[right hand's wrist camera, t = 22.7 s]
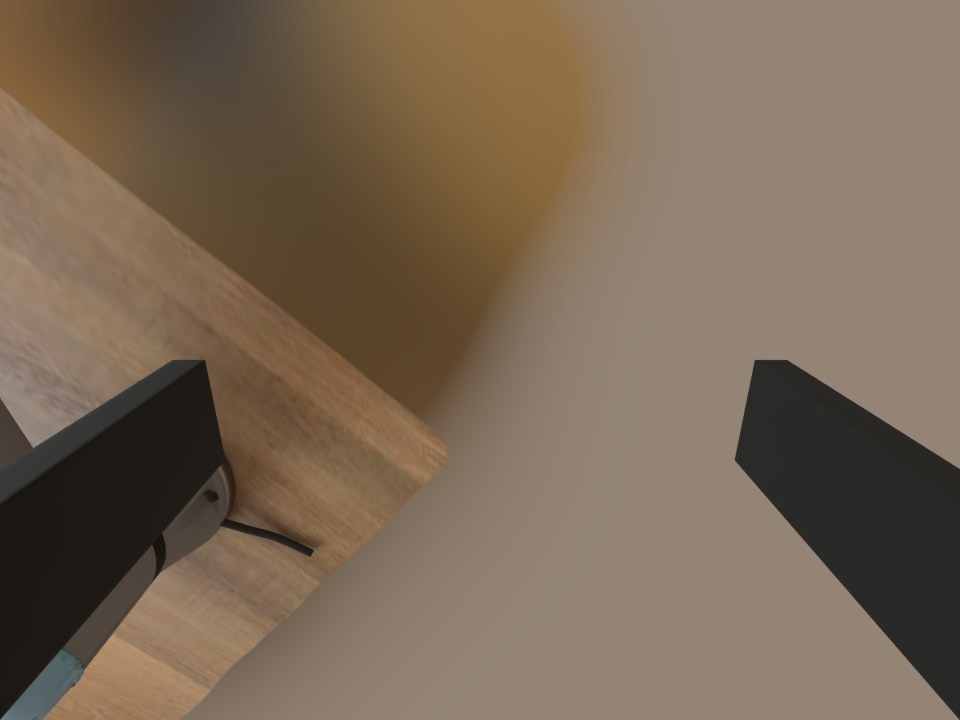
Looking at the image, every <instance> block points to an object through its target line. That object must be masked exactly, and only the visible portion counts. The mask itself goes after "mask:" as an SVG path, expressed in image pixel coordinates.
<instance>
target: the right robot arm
mask: <svg viewBox="0 0 960 720" xmlns="http://www.w3.org/2000/svg"><path fill="white" fill-rule="evenodd" d="M735 461H736V462H737V463H738V465H739V466H740V467H741V468H742V469H743V470H744V471H745V473H746V474H747V475H748V476H749V477H750V478H751V479H752V481H753V482H754V483H755V484H756V485H757V486H758V488H759V489H760V490H761V491H762V492H763V493H764V495H765V496H766V497H767V498H768V499H769V500H770V501H771V503H772V504H773V505H774V506H775V507H776V508H777V510H778V511H779V512H780V513H781V514H782V515H783V516H784V518H785V519H786V520H787V521H788V522H789V523H790V525H791V526H792V527H793V528H794V529H795V530H796V531H797V533H798V534H799V535H800V536H801V537H802V538H803V540H804V541H805V542H806V543H807V544H808V545H809V546H810V548H811V549H812V550H813V551H814V552H815V553H816V555H817V556H818V557H819V558H820V559H821V560H822V561H823V563H824V564H825V565H826V566H827V567H828V568H829V570H830V571H831V572H832V573H833V574H834V575H835V576H836V578H837V579H838V580H839V581H840V582H841V583H842V585H843V586H844V587H845V588H846V589H847V590H848V591H849V593H850V594H851V595H852V596H853V597H854V598H855V600H856V601H857V602H858V603H859V604H860V605H861V606H862V608H863V609H864V610H865V611H866V612H867V613H868V615H869V616H870V617H871V618H872V619H873V620H874V621H875V623H876V624H877V625H878V626H879V627H880V628H881V630H882V631H883V632H884V633H885V634H886V635H887V636H888V638H889V639H890V640H891V641H892V642H893V643H894V645H895V646H896V647H897V648H898V649H899V650H900V651H901V653H902V654H903V655H904V656H905V657H906V658H907V660H908V661H909V662H910V663H911V664H912V665H913V667H914V668H915V669H916V670H917V671H918V672H919V673H920V675H921V676H922V677H923V678H924V679H925V680H926V682H927V683H928V684H929V685H930V686H931V687H932V688H933V690H934V691H935V692H936V693H937V694H938V695H939V697H940V698H941V699H942V700H943V701H944V702H945V703H946V705H947V706H948V707H949V708H950V709H951V710H952V712H953V713H954V714H955V715H956V716H957V717H958V718H959V720H960V469H959V468H957V467H956V466H954V465H952V464H951V463H949V462H948V461H946V460H944V459H943V458H941V457H940V456H938V455H937V454H935V453H933V452H932V451H930V450H929V449H927V448H925V447H924V446H922V445H921V444H919V443H918V442H916V441H914V440H913V439H911V438H910V437H908V436H907V435H905V434H903V433H902V432H900V431H899V430H897V429H895V428H894V427H892V426H891V425H889V424H887V423H886V422H884V421H883V420H881V419H880V418H878V417H876V416H875V415H873V414H872V413H870V412H869V411H867V410H865V409H864V408H862V407H861V406H859V405H857V404H856V403H854V402H853V401H851V400H850V399H848V398H846V397H845V396H843V395H841V394H840V393H838V392H837V391H835V390H834V389H832V388H830V387H829V386H827V385H826V384H824V383H823V382H821V381H819V380H818V379H816V378H815V377H813V376H811V375H810V374H808V373H807V372H805V371H804V370H802V369H800V368H799V367H797V366H796V365H794V364H792V363H791V362H789V361H788V360H755V362H754V367H753V372H752V377H751V382H750V387H749V392H748V397H747V402H746V407H745V412H744V417H743V422H742V427H741V432H740V437H739V442H738V447H737V452H736V457H735ZM234 495H235V486H234V479H233V475H232V472H231V469H230V467H229V465H228V462H227V460H226V459H225V457H224V452H223V447H222V442H221V437H220V432H219V427H218V422H217V417H216V412H215V407H214V402H213V397H212V392H211V387H210V382H209V377H208V372H207V367H206V362H205V360H172V361H171V362H169V363H168V364H166V365H164V366H163V367H161V368H160V369H158V370H156V371H155V372H153V373H152V374H150V375H149V376H147V377H145V378H144V379H142V380H141V381H139V382H137V383H136V384H134V385H133V386H131V387H130V388H128V389H126V390H125V391H123V392H122V393H120V394H118V395H117V396H115V397H114V398H112V399H110V400H109V401H107V402H106V403H104V404H103V405H101V406H99V407H98V408H96V409H95V410H93V411H91V412H90V413H88V414H87V415H85V416H84V417H82V418H80V419H79V420H77V421H76V422H74V423H72V424H71V425H69V426H68V427H66V428H65V429H63V430H61V431H60V432H58V433H57V434H55V435H53V436H52V437H50V438H49V439H47V440H46V441H44V442H42V443H41V444H39V445H38V446H36V447H34V448H33V447H32V446H31V444H30V443H29V441H28V440H27V438H26V437H25V435H24V434H23V432H22V431H21V429H20V428H19V426H18V424H17V423H16V421H15V420H14V418H13V417H12V415H11V414H10V412H9V411H8V409H7V408H6V406H5V405H4V403H3V402H2V400H1V399H0V720H42V719H43V718H44V717H45V716H46V715H47V714H48V712H49V711H50V710H51V709H52V708H53V707H54V706H55V705H56V704H57V702H58V701H59V700H60V699H61V698H62V697H63V696H64V695H65V694H66V692H67V691H68V690H69V689H70V688H72V687H73V686H74V685H75V684H76V683H77V682H79V680H80V679H81V676H82V674H83V673H84V670H85V668H86V667H87V666H88V665H89V663H90V662H91V661H92V659H93V658H94V657H95V656H96V654H97V653H98V652H99V650H100V649H101V648H102V647H103V645H104V644H105V643H106V641H107V640H108V639H109V638H110V636H111V635H112V634H113V632H114V631H115V630H116V629H117V627H118V626H119V625H120V623H121V622H122V621H123V620H124V618H125V617H126V616H127V614H128V613H129V612H130V611H131V609H132V608H133V607H134V605H135V604H136V603H137V602H138V600H139V599H140V598H141V596H142V595H143V594H144V593H145V591H146V590H147V589H148V587H149V586H150V585H151V583H152V582H153V581H154V579H155V578H156V577H157V576H158V575H159V573H160V572H162V571H163V570H165V569H166V568H168V567H169V566H171V565H172V564H174V563H175V562H177V561H178V560H180V559H182V558H183V557H185V556H186V555H188V554H189V553H191V552H192V551H194V550H195V549H197V548H198V547H200V546H201V545H203V544H204V543H205V542H207V541H208V540H209V539H210V538H211V537H212V536H213V535H214V534H215V533H216V532H217V531H218V529H219V528H220V527H221V526H223V527H227V528H230V529H233V530H237V531H240V532H244V533H247V534H251V535H255V536H259V537H263V538H267V539H270V540H273V541H276V542H279V543H281V544H284V545H286V546H288V547H290V548H293V549H295V550H297V551H299V552H301V553H303V554H305V555H307V556H309V557H311V555H312V553H313V551H314V550H312V549H310V548H308V547H306V546H304V545H302V544H300V543H298V542H296V541H294V540H292V539H289V538H287V537H285V536H282V535H280V534H277V533H274V532H271V531H267V530H263V529H259V528H255V527H252V526H248V525H245V524H241V523H238V522H235V521H231V520H228V519H226V518H227V517H228V515H229V513H230V511H231V509H232V506H233V502H234Z"/></svg>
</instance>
